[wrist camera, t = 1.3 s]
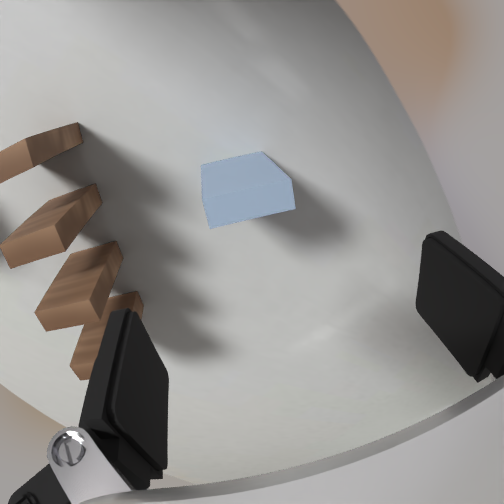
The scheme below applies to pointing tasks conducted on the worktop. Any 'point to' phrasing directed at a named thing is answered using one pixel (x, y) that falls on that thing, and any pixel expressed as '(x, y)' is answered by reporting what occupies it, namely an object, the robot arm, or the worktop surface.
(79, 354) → the tile
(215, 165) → the tile
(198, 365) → the worktop surface
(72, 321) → the tile
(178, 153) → the worktop surface
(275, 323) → the worktop surface
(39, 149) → the tile
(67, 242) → the tile
